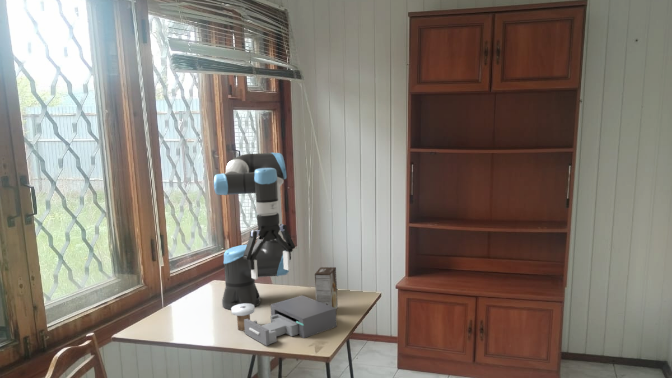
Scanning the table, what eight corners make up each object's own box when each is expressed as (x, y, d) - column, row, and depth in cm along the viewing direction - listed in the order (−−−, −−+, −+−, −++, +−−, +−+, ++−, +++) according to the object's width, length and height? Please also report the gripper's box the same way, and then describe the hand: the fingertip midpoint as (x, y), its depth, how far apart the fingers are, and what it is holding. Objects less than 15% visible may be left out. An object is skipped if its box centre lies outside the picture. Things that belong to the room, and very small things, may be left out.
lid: (227, 311, 173) (227, 307, 173) (247, 306, 178) (247, 301, 178) (238, 317, 167) (238, 313, 167) (259, 311, 172) (258, 307, 172)
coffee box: (321, 307, 192) (320, 266, 190) (338, 307, 190) (336, 267, 189) (316, 315, 183) (314, 273, 181) (333, 316, 181) (331, 273, 180)
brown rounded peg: (235, 328, 174) (234, 311, 173) (246, 324, 176) (245, 308, 176) (241, 331, 170) (240, 314, 170) (252, 328, 173) (251, 311, 172)
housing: (271, 322, 178) (270, 304, 177) (303, 312, 187) (302, 295, 186) (303, 338, 162) (302, 319, 162) (336, 326, 171) (336, 308, 171)
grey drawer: (243, 333, 168) (242, 319, 167) (277, 322, 176) (276, 309, 176) (265, 346, 157) (264, 331, 156) (300, 334, 165) (299, 320, 165)
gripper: (242, 220, 157) (246, 284, 160) (303, 209, 174) (305, 267, 176) (230, 217, 162) (234, 280, 165) (290, 207, 179) (293, 264, 182)
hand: (271, 274), depth 171 cm, fingers open, 13 cm apart
